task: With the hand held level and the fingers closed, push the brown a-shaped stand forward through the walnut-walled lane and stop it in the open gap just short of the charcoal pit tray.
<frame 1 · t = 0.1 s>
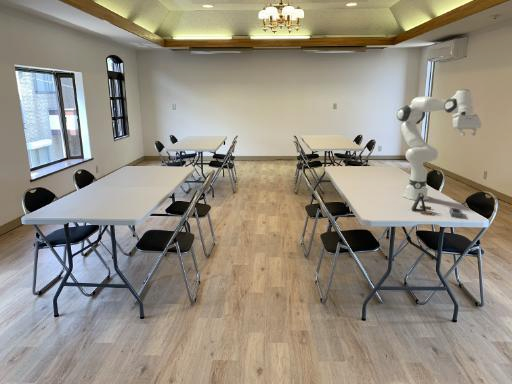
hand: (468, 135, 245), 52 cm above the table, tool tilted 20°, fingers open, 8 cm apart
walled lane: (425, 211, 259), on the table
pit tray: (455, 215, 253), on the table
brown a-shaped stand: (418, 210, 261), on the table
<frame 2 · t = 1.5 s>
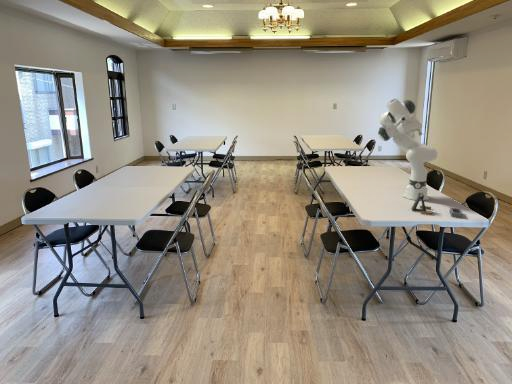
hand: (417, 136, 249), 50 cm above the table, tool tilted 45°, fingers open, 8 cm apart
nothing on the table moved.
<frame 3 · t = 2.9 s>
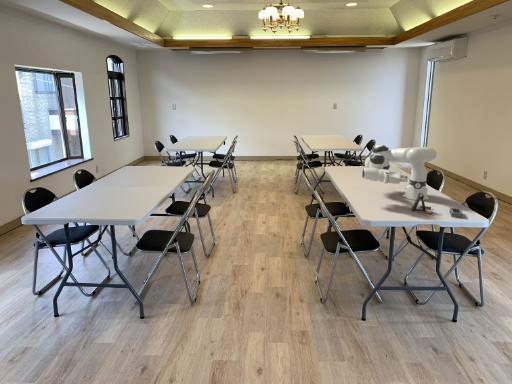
hand: (407, 179, 258), 21 cm above the table, tool horizontal, fingers open, 8 cm apart
nothing on the table moved.
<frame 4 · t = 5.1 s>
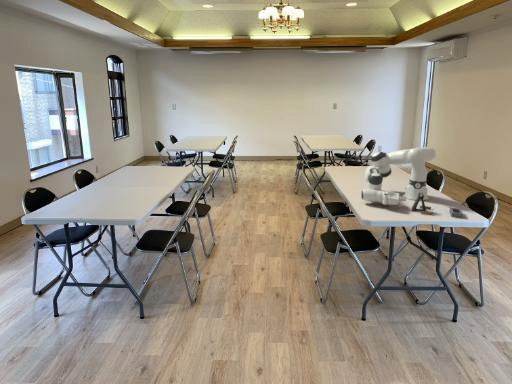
hand: (406, 199, 262), 7 cm above the table, tool horizontal, fingers closed
nothing on the table moved.
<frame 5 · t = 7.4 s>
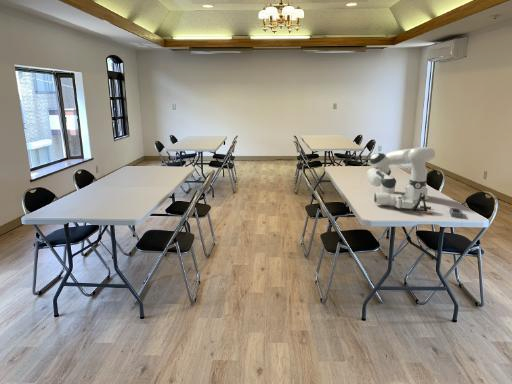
hand: (420, 203, 258), 5 cm above the table, tool horizontal, fingers closed, pressing on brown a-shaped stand
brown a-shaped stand: (420, 210, 260), on the table, touching gripper
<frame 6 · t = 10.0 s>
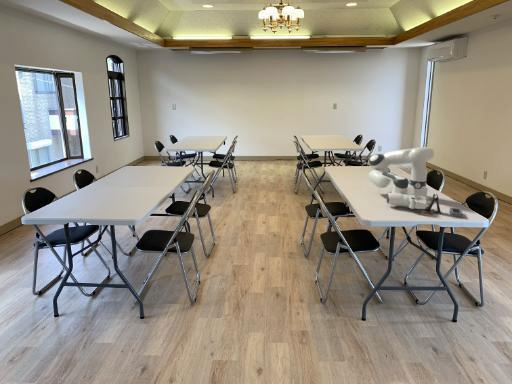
hand: (433, 203, 256), 6 cm above the table, tool horizontal, fingers closed
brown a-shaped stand: (433, 212, 258), on the table
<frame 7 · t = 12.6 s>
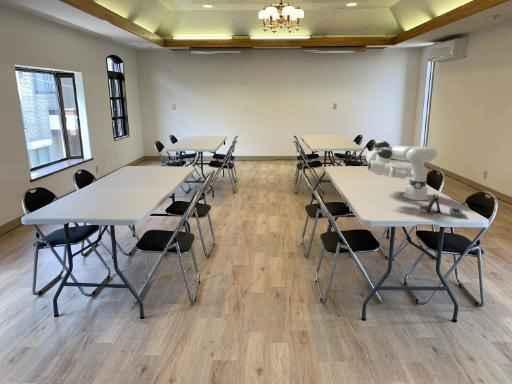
hand: (412, 176, 257), 23 cm above the table, tool horizontal, fingers closed
nothing on the table moved.
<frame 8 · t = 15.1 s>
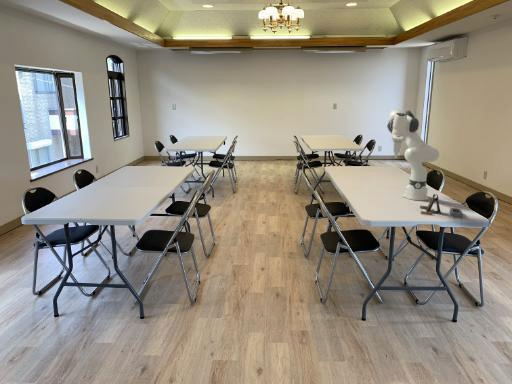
hand: (395, 157, 262), 34 cm above the table, tool pointing down, fingers closed
nothing on the table moved.
at the end: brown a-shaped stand inside the target area (4.7 cm from its centre), on the table; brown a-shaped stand tilted 0°; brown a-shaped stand touching table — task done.
